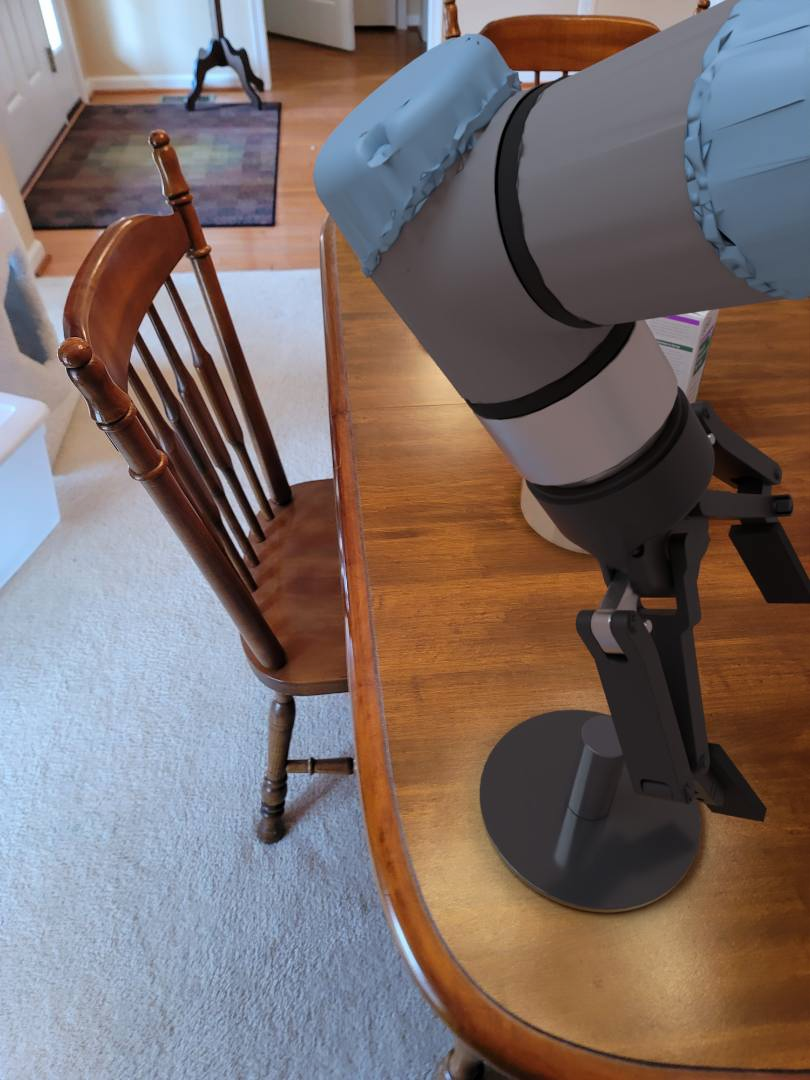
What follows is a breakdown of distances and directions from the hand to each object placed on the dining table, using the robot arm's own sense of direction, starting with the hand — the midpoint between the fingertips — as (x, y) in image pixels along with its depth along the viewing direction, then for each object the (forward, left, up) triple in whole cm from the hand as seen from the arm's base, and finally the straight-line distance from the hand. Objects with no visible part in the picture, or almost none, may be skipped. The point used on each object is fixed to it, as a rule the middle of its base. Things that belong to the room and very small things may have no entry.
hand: (767, 697), depth 46 cm
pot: (+27, -18, -14) cm, 35 cm away
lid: (+6, +6, -13) cm, 15 cm away
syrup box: (+32, -34, -14) cm, 49 cm away
